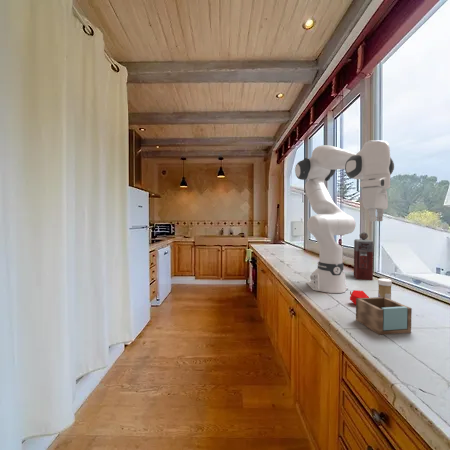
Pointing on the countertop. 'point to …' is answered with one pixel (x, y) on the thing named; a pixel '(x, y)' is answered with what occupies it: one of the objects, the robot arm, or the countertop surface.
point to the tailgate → (394, 318)
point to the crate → (378, 314)
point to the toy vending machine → (363, 258)
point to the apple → (357, 295)
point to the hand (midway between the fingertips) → (376, 221)
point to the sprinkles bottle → (384, 288)
